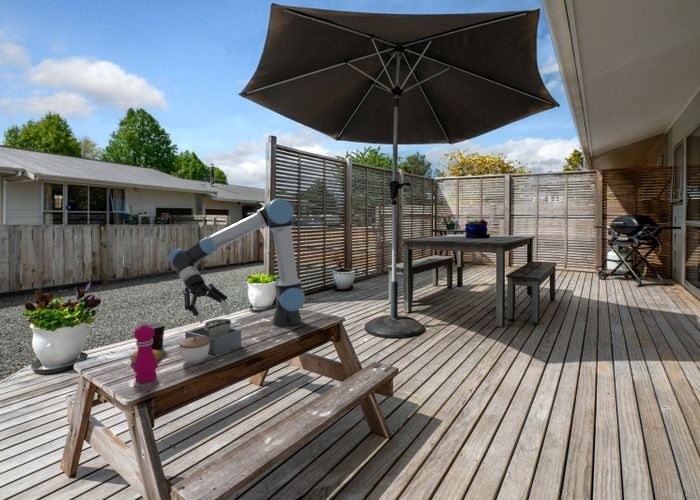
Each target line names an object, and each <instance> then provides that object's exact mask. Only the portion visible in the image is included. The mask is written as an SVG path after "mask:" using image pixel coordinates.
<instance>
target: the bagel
mask: <svg viewBox="0 0 700 500" xmlns="http://www.w3.org/2000/svg"><path fill="white" fill-rule="evenodd" d="M152 351H153V354H154V356H155V358H156V360H157V362H158V361H160V359H162V357H163V353H162V352H161V350H154V349H152ZM137 354H138V350H137V351H135V352H133V353H132V355H130V362H131V363H132V364H134V362H135V360H136V357H137Z"/></svg>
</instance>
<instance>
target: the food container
mask: <svg viewBox="0 0 700 500" xmlns="http://www.w3.org/2000/svg"><path fill="white" fill-rule="evenodd" d="M231 325H232V321H231V319H229V318H228V319H227V318H221V319H220V318H219V319H212V320H209V321H207V322H205V324H204V326H203V327H204V330H206V335H207V336H209V337H213V338H216V337H219V336H222V335H225V334H228V333H230V328H231Z"/></svg>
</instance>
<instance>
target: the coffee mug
mask: <svg viewBox="0 0 700 500" xmlns="http://www.w3.org/2000/svg"><path fill="white" fill-rule="evenodd" d="M147 325H148V326H151V327H152V328H153V329H154V336H153V337H152V339H153V344H152V349H154V350H158V351H161V350H162V349H163V347H164V345H163V343H164V334H165V325H166V324H165V323H164V322H151V323H147Z"/></svg>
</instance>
